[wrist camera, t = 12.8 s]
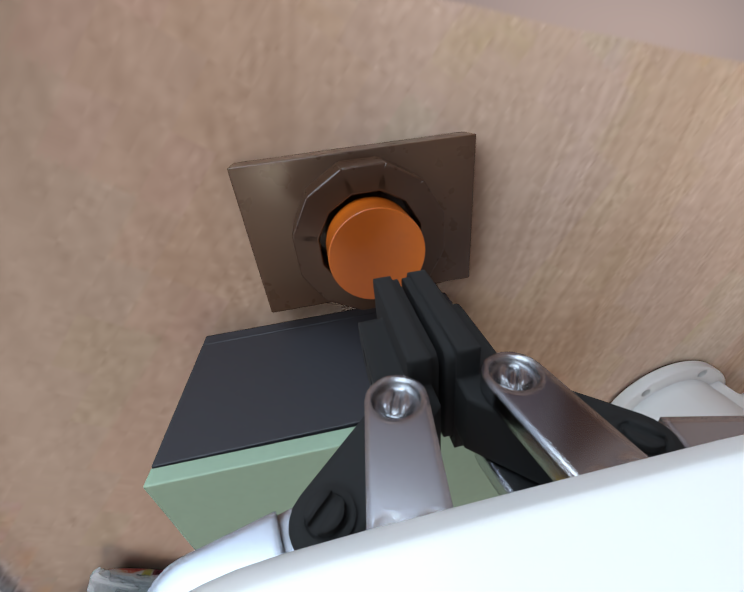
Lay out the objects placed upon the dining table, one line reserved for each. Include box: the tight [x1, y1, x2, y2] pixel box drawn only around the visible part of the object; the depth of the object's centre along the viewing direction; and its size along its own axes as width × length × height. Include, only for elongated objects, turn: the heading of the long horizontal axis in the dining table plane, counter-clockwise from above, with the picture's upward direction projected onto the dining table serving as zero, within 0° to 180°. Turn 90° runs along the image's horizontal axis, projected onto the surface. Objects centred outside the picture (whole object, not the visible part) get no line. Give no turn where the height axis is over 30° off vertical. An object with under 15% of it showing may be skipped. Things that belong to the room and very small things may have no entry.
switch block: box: [227, 132, 476, 312], centre depth 18 cm, size 12×8×4 cm, turn 96°
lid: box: [144, 426, 499, 550], centre depth 17 cm, size 17×14×1 cm
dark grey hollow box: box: [152, 293, 453, 469], centre depth 22 cm, size 16×14×9 cm
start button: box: [326, 197, 425, 299], centre depth 16 cm, size 4×4×2 cm
